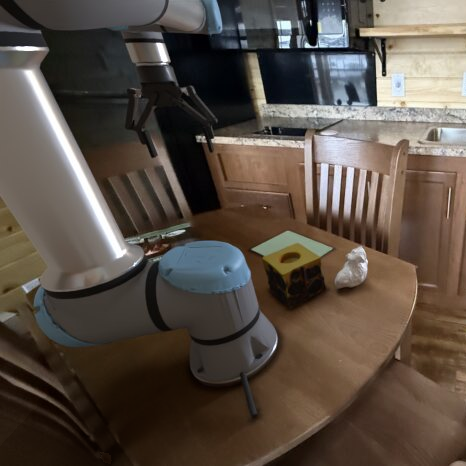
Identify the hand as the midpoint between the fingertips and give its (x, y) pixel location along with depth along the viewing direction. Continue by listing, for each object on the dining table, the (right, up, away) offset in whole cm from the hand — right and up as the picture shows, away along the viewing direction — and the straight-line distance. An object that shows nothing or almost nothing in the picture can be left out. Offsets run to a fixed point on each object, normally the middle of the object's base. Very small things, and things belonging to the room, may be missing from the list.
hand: (184, 154), depth 85 cm
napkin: (+26, -26, +10) cm, 38 cm away
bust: (+47, -34, -3) cm, 58 cm away
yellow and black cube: (+33, -36, -6) cm, 49 cm away
